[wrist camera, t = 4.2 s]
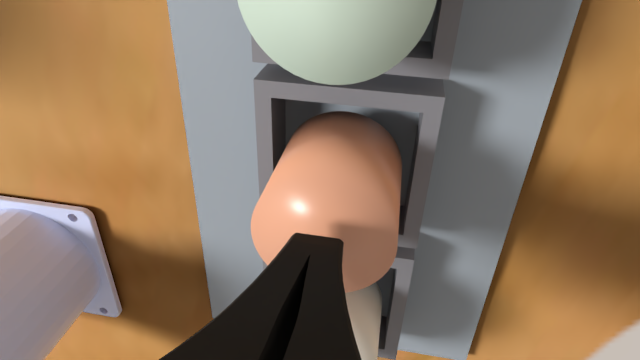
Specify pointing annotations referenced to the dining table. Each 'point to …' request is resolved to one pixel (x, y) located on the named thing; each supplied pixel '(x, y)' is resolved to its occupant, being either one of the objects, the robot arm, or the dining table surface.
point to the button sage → (337, 35)
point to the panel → (406, 129)
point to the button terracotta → (336, 194)
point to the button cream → (366, 319)
